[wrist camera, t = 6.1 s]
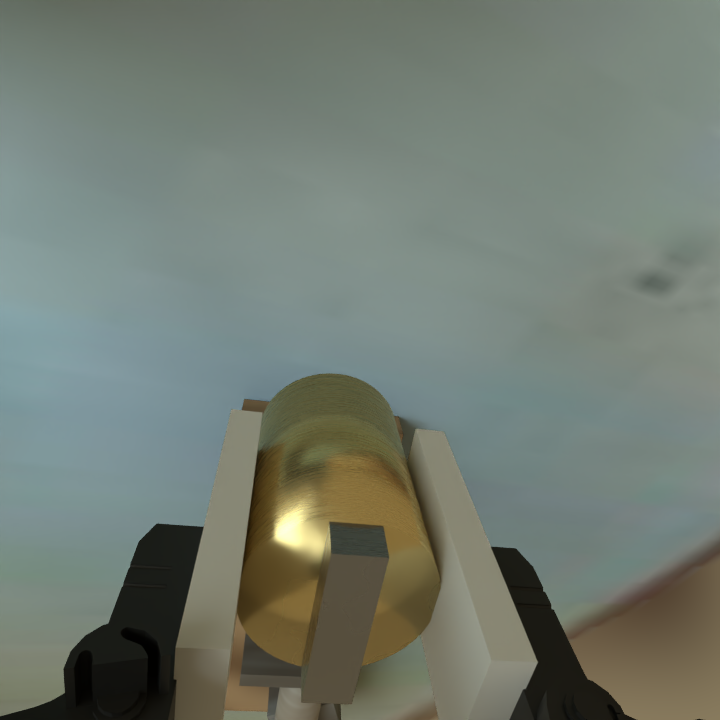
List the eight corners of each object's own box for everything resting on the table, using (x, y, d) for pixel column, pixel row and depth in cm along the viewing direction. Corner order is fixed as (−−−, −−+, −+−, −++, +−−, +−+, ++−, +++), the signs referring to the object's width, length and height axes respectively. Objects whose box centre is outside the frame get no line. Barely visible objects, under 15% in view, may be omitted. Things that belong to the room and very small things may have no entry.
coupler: (267, 365, 15) (240, 542, 9) (408, 382, 16) (473, 559, 10) (252, 484, 17) (222, 704, 11) (381, 495, 17) (423, 709, 11)
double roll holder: (244, 399, 32) (230, 459, 26) (398, 416, 33) (415, 478, 28) (214, 683, 41) (200, 771, 36) (335, 687, 43) (338, 773, 37)
